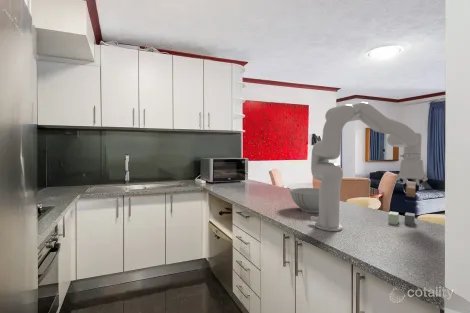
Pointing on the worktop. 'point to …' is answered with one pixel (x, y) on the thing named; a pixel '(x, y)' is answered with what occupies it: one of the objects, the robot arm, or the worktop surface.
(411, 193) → the walnut brick
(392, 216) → the sage brick
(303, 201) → the decorative bowl
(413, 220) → the charcoal brick
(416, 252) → the worktop surface
